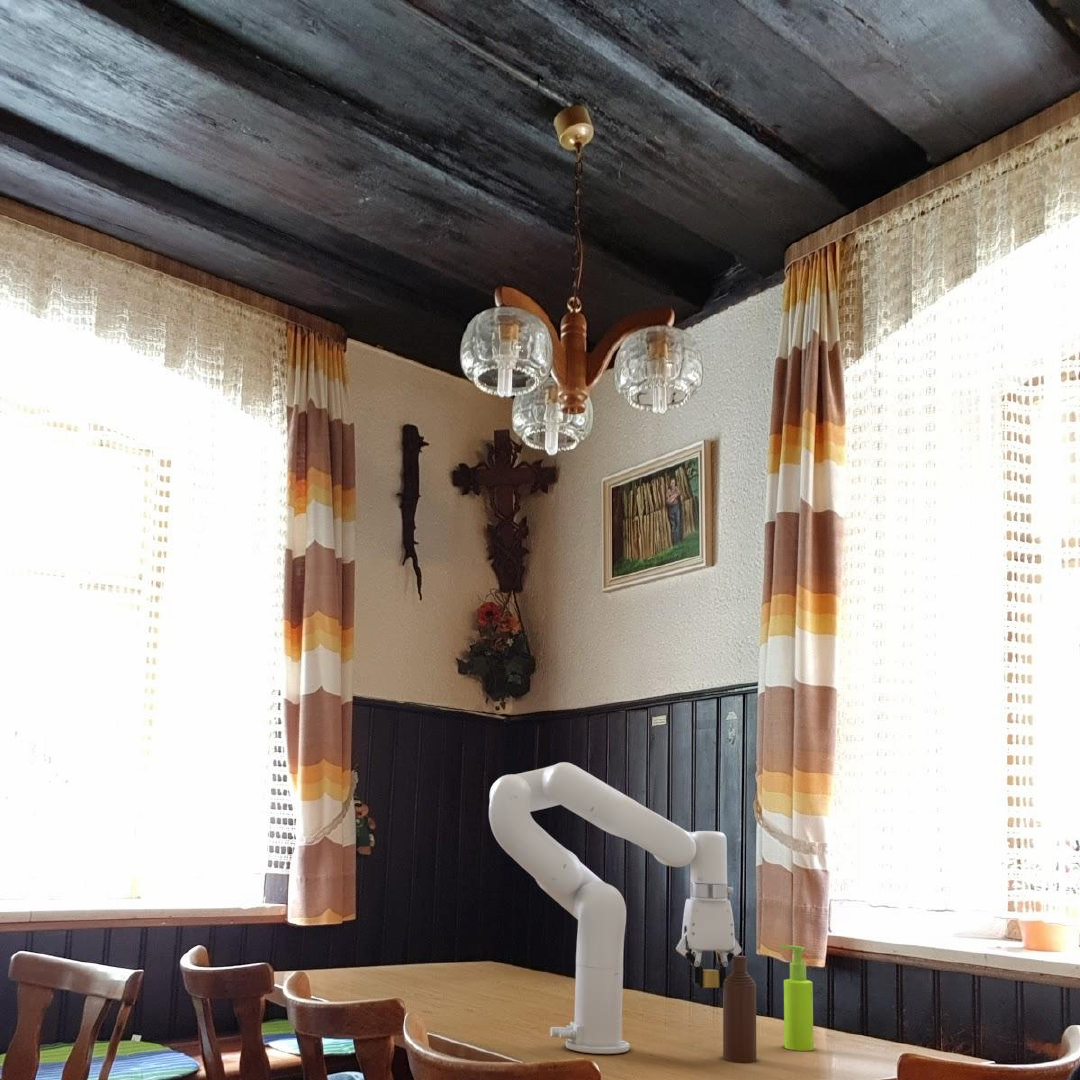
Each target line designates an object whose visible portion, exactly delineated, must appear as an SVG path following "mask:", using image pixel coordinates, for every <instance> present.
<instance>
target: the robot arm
mask: <svg viewBox="0 0 1080 1080" xmlns="http://www.w3.org/2000/svg"><path fill="white" fill-rule="evenodd" d="M488 798H489V805H488V820H489V825H490V828H491V832H492V834H493V836H494V838H495V840H496V842H497V843H498V844H499V847H501V849H503V850H504V852H505V853H506V854H507V855H508V856H509V857H511V858H512V859H513V860H514V861H515V862H516V863H517V864H518V865H519V866H520V867H521V868H522V869H524V870H525V871H526V872H527V873H528V874H530V876H531V877H533V878H534V879H535V882H536V883H537V885H538V886H539V887H540V888H541V889H542V890H543V891H544V892H545V893H546V894H547V895H549V897H550V898H552V899H553V900H554V901H555V902H557V903H558V904H559V906H561V907H562V908H563V909H564V910H565V911H567V912H568V913H569V914H570V915H572V916H573V917H574V918H575V919H576V920H577V935H576V948H575V949H576V950H575V951H576V952H575V984H574V985H575V986H574V987H575V989H574V993H575V994H574V1019H573V1020H574V1021H570V1023H569V1024H567V1025H565V1027H564V1026H562V1027H561V1026H550V1031H549V1034H550V1038H560V1039H566V1040H565V1047H566V1048H567V1049H568V1050H570V1051H575V1052H578V1053H586V1054H598V1055H614V1054H622V1053H626V1052H628V1051H629V1050H630V1043H629V1042H628V1041H625V1040H623V1037H622V1036H623V992H624V949H625V934H626V925H627V906H626V903H625V899H624V897H623V895H622V893H621V892H620V891H619V890H618V888H617V887H615V886H613V885H611V884H609V883H607V882H605V881H603V880H602V879H601V878H600V877H599V876H598V875H597V874H595V873H594V872H593V871H592V870H590V869H589V868H588V867H587V866H586V865H585V864H583V862H581V861H580V859H579V858H578V856H577V855H576V854H574V853H573V852H572V851H570V850H569V849H567V848H566V847H564V846H563V845H562V844H561V843H559V842H558V841H557V840H556V839H555V838H553V837H552V836H551V835H550V834H549V833H548V832H547V831H546V830H545V829H543V828H542V826H540V825H539V824H538V823H537V822H536V821H535V820H534V818H533V816H532V814H531V812H536V811H540V810H544V809H548V808H552V807H556V806H562V807H563V808H565V809H567V810H568V811H571V812H572V813H574V814H576V815H577V816H579V817H581V818H582V819H584V820H586V821H587V822H589V823H590V824H592V825H593V826H595V827H597V828H599V829H600V830H602V831H604V832H606V833H608V834H610V835H612V836H616V837H619V838H622V839H624V840H626V841H628V842H631V843H632V844H634V845H636V846H638V847H640V848H641V849H643V850H645V851H646V852H649V853H650V854H651V855H653V857H654V858H655V860H657V862H659V863H660V864H662V865H665V866H667V867H674V868H682V867H685V866H688V865H689V867H690V868H689V874H690V875H689V876H690V877H689V878H690V879H689V880H690V885H689V886H690V887H689V888H690V890H689V891H690V893H689V894H690V895H689V896H690V897H689V898H685V899H686V900H685V903H684V909H683V918H682V928H681V939H680V940H679V942H678V944H677V945H676V947H675V951H676V952H677V953H678V954H680V955H681V956H683V957H684V958H685V959H686V960H687V961H688V963H689V964H690V965H691V969H692V970H691V971H692V972H691V973H692V974H691V976H692V977H691V979H692V980H691V981H692V983H693V984H694V987H696V988H698V989H702V988H704V987H703V970H704V967H702V965H701V962H702V955H703V952H715V955H716V962H717V963H716V965H715V966H714V970H719V975H720V986H719V987H718V988H720V989H723V982H724V979H727V976H726V974H727V972H726V971H727V968H728V965H729V963H730V962H731V961H733V956H739V954H740V953H742V947H741V946H740V944H739V942H738V940H737V939H736V937H735V935H736V934H735V921H734V915H733V908H732V904H731V900H730V899H728V898H729V895H733V894H734V888H733V887H732V886H731V887H730V886H729V885H728V847H727V846H728V842H727V841H728V840H727V836H726V834H725V833H724V832H722V831H717V830H716V831H715V830H696V831H687V830H686V829H684V828H682V827H681V826H679V825H678V824H676V823H674V822H673V821H670V820H669V819H667V818H665V817H664V816H662V815H660V814H659V813H656V812H655V811H653V810H652V809H650V808H648V807H646V806H644V805H643V804H641V803H640V802H637V800H635V799H633V798H631V797H630V796H628V795H626V794H624V793H623V792H621V791H619V790H617V789H616V788H614V787H612V786H611V785H609V784H608V783H606V782H604V781H603V780H600V779H599V778H597V777H595V776H594V775H593V774H591V773H589V772H587V771H586V770H583V769H582V768H581V767H579V766H577V765H575V764H573V763H570V762H568V761H567V762H565V761H564V762H563V761H562V762H558V763H556V764H552V765H550V766H546V767H542V768H538V769H534V770H529V771H524V772H521V773H515V774H513V773H511V774H505V775H502V776H500V777H499V778H497V780H495V782H493V783H492V786H491V787H490V790H489V796H488ZM688 949H690V950H691V952H690V951H689V950H688Z"/></svg>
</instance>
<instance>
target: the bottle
mask: <svg viewBox="0 0 1080 1080" xmlns="http://www.w3.org/2000/svg"><path fill="white" fill-rule="evenodd" d="M747 960H748V957H747V956H745V955H736V956H733V959H732V971H730V973H729V974H728V976H726V979H724V982H723V988H722V989H723V990H722V994H723V995H722V1059H723V1060H725V1061H727V1062H733V1063H741V1064H742V1063H745V1064H746V1063H747V1064H749V1063H755V1062H756V1061H757V983H756V981H755V980H754V979H753V977H751V975H750V974H749V972H748V971H747Z"/></svg>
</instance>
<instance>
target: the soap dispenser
mask: <svg viewBox="0 0 1080 1080" xmlns="http://www.w3.org/2000/svg"><path fill="white" fill-rule="evenodd" d="M778 949H779V950H793V960H792V961H791V962H789V978H786V979H783V1033H784V1034H783V1041H784V1045H783V1047H784V1049H787V1050H791V1051H797V1052H798V1051H799V1052H810V1051H811V1052H812V1051H813V1050H814V1047H815V1046H814V997H813V995H814V990H813V983H814V982H813V981H811V980H808V979H807V963H805V962H804V961H803V952H804V951H807V949H806V947H805V946H804V947H803V946H799V945H791V944H790V945H783V946H779V947H778Z"/></svg>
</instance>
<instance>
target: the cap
mask: <svg viewBox="0 0 1080 1080" xmlns="http://www.w3.org/2000/svg"><path fill="white" fill-rule="evenodd" d="M719 986H720V975H719V970H715V969H703V987H702V988H708V989H709V988H711V989H712V988H713V989H717V988H720V987H719Z"/></svg>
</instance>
